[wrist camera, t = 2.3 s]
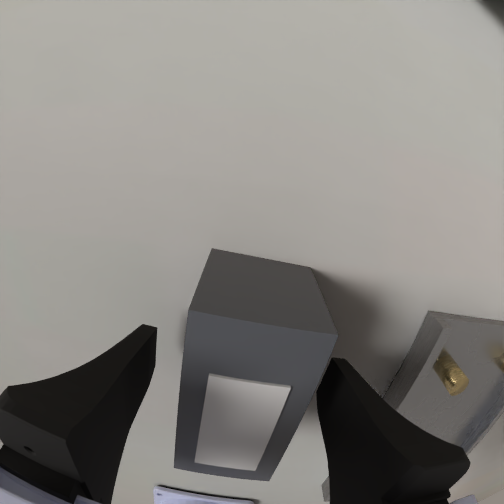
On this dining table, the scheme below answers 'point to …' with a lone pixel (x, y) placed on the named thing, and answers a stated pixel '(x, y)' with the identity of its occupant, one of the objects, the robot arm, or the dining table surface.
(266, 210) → the dining table surface
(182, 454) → the block
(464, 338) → the tray
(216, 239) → the dining table surface
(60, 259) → the dining table surface
